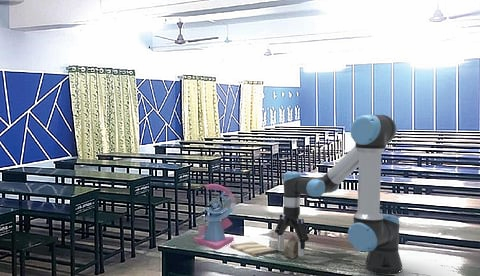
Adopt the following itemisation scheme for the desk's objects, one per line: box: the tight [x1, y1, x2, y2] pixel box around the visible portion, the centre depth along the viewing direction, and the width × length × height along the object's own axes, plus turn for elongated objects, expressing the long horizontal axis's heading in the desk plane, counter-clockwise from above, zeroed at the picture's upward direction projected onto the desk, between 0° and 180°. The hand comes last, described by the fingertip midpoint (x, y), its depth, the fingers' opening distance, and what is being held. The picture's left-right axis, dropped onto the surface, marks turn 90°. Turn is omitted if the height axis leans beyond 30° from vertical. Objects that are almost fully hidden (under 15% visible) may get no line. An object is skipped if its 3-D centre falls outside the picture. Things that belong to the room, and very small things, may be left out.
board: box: [229, 240, 279, 258], centre depth 242 cm, size 20×14×1 cm
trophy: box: [193, 183, 237, 251], centre depth 248 cm, size 20×17×30 cm
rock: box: [283, 235, 300, 260], centre depth 231 cm, size 12×7×10 cm, turn 155°
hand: (290, 252), depth 231 cm, fingers open, 13 cm apart
